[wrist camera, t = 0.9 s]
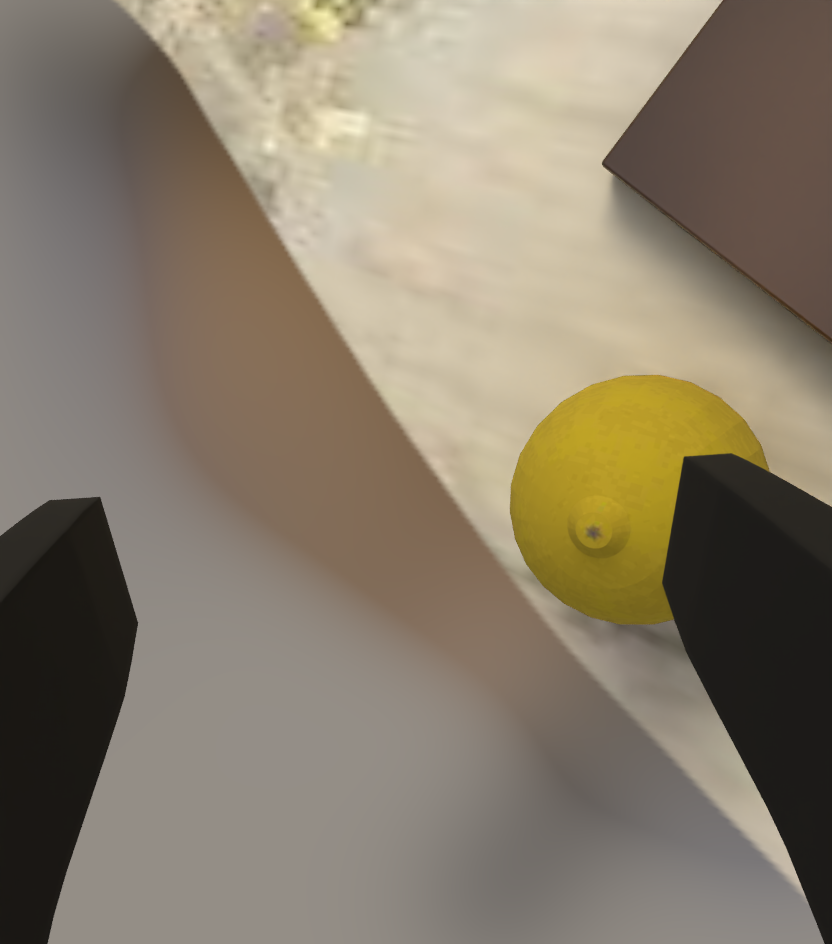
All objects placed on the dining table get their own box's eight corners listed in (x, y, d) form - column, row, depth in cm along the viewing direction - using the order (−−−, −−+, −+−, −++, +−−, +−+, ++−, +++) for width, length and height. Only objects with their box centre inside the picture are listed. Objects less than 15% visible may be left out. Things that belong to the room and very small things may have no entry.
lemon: (548, 528, 23) (426, 603, 16) (606, 346, 22) (500, 342, 15) (737, 604, 21) (691, 729, 14) (816, 408, 20) (808, 438, 13)
